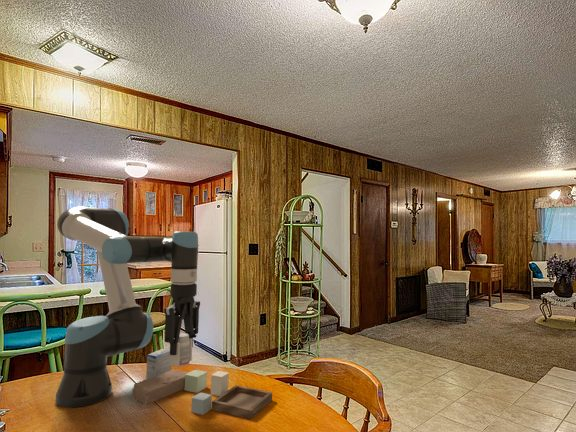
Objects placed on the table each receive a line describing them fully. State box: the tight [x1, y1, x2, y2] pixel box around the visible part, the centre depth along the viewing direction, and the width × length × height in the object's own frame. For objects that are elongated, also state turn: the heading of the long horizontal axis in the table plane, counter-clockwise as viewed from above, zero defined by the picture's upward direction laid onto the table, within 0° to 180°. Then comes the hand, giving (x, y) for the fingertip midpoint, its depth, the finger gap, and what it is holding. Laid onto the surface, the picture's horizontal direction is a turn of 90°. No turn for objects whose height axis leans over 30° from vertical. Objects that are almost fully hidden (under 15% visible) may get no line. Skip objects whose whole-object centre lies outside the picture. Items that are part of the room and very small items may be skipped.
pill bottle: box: [178, 332, 191, 367], centre depth 106 cm, size 5×5×8 cm
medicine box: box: [145, 348, 172, 379], centre depth 128 cm, size 8×4×9 cm, turn 158°
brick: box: [131, 368, 188, 405], centre depth 116 cm, size 17×8×5 cm, turn 144°
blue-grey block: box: [190, 391, 213, 415], centre depth 104 cm, size 4×4×4 cm
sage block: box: [184, 369, 208, 394], centre depth 119 cm, size 5×5×5 cm
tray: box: [211, 384, 273, 420], centre depth 107 cm, size 13×13×2 cm
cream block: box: [210, 370, 230, 397], centre depth 115 cm, size 4×4×6 cm
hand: (181, 362), depth 106 cm, fingers closed on pill bottle, 5 cm apart
